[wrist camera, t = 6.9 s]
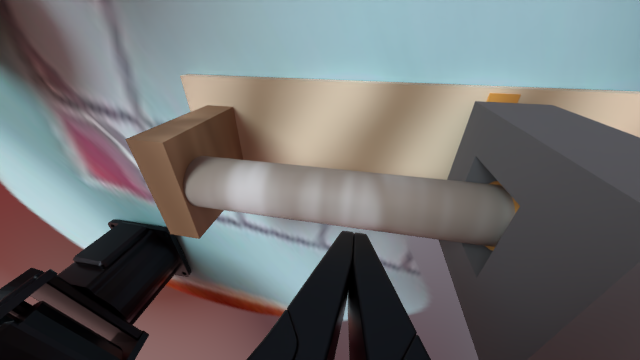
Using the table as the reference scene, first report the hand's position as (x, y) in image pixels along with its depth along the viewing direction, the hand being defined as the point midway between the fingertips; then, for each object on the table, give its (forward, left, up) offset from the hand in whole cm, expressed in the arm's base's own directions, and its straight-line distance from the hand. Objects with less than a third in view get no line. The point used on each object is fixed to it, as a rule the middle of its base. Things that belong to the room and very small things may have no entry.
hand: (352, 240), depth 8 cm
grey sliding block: (0, -6, -6) cm, 8 cm away
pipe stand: (0, -1, -7) cm, 7 cm away
